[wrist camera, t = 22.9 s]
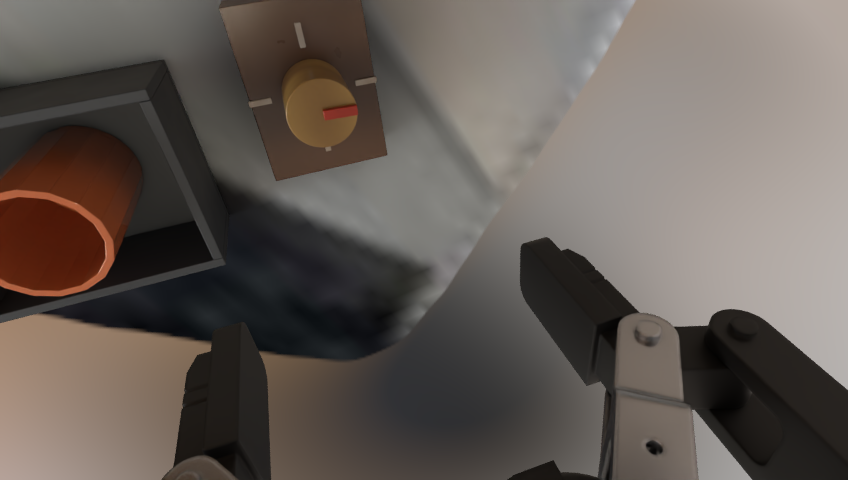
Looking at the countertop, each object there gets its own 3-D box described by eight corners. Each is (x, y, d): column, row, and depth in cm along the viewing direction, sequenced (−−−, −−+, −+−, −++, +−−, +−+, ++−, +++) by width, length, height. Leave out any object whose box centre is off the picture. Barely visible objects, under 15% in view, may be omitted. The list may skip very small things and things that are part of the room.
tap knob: (289, 126, 31) (295, 155, 27) (274, 64, 29) (278, 85, 25) (349, 116, 32) (363, 143, 28) (339, 54, 29) (353, 74, 26)
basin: (-97, 106, 27) (-180, 150, 22) (164, 59, 29) (145, 88, 24) (26, 265, 34) (-14, 327, 29) (229, 216, 36) (226, 264, 31)
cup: (4, 137, 29) (-78, 209, 22) (116, 115, 30) (73, 176, 23) (62, 224, 32) (9, 309, 25) (160, 201, 34) (136, 277, 26)
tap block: (219, 1, 29) (216, 8, 26) (351, -21, 30) (360, -16, 28) (273, 164, 35) (274, 182, 33) (379, 139, 36) (389, 156, 34)
